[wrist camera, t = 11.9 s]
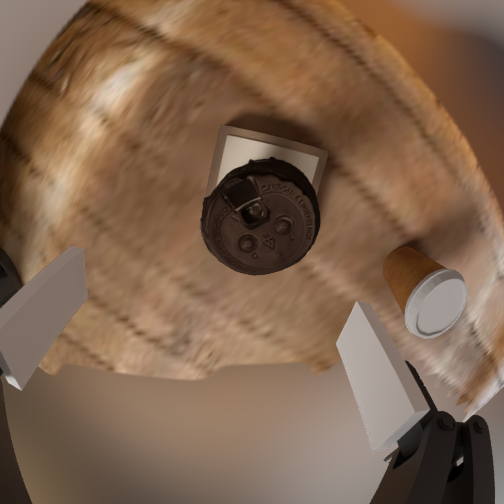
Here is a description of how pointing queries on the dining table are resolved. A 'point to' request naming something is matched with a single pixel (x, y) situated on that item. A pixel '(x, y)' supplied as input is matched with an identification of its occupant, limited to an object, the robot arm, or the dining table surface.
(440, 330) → the disposable coffee cup
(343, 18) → the dining table surface
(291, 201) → the coffee cup
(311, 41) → the dining table surface
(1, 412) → the robot arm
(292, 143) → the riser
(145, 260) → the dining table surface
